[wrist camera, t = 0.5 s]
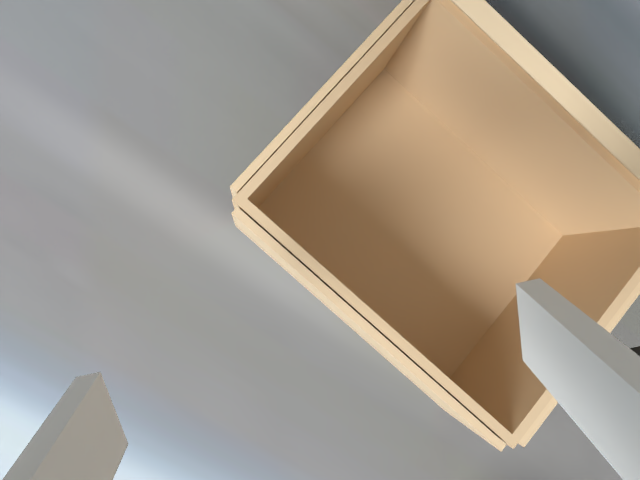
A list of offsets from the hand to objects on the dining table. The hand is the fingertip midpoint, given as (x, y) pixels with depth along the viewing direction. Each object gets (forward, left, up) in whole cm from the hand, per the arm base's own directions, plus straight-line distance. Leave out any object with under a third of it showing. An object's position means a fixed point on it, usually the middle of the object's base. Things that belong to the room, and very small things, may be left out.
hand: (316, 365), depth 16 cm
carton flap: (-4, +16, -6) cm, 17 cm away
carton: (-2, +13, -25) cm, 28 cm away
